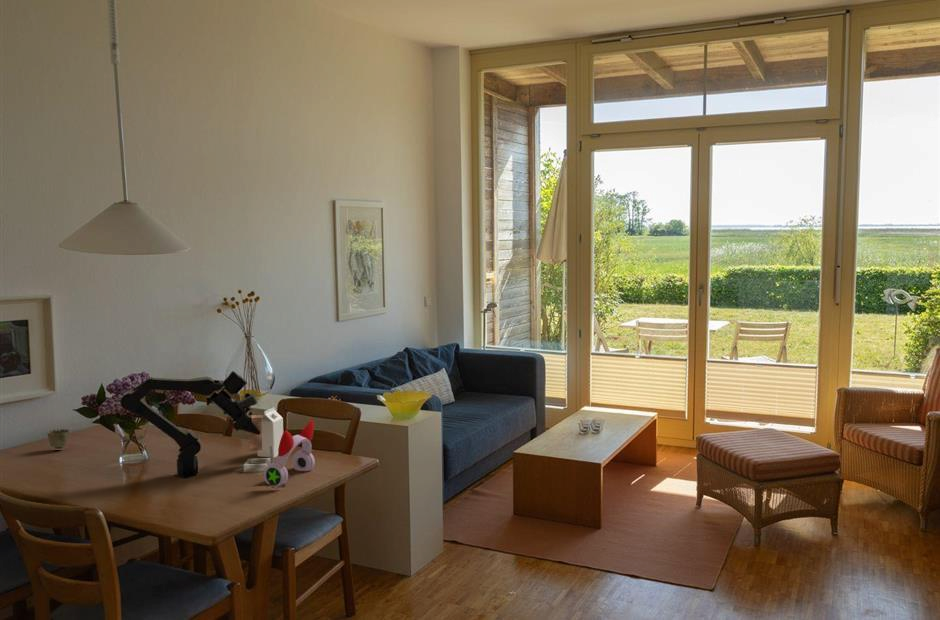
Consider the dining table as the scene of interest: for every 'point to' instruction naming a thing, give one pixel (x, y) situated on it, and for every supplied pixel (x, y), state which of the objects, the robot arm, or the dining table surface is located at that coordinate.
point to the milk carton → (271, 432)
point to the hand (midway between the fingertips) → (259, 432)
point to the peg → (256, 439)
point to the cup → (58, 438)
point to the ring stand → (257, 464)
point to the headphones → (300, 460)
